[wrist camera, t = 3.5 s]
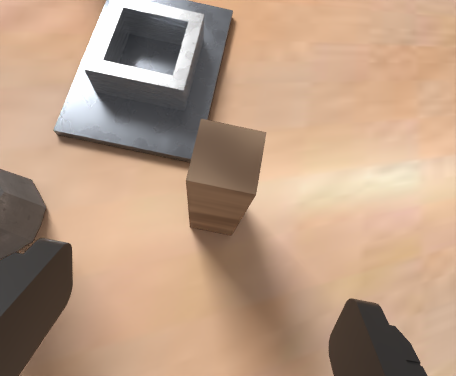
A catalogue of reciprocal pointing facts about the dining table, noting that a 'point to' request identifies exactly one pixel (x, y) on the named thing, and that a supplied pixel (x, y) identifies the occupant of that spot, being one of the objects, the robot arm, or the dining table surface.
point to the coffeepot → (18, 212)
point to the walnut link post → (223, 175)
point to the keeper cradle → (147, 76)
